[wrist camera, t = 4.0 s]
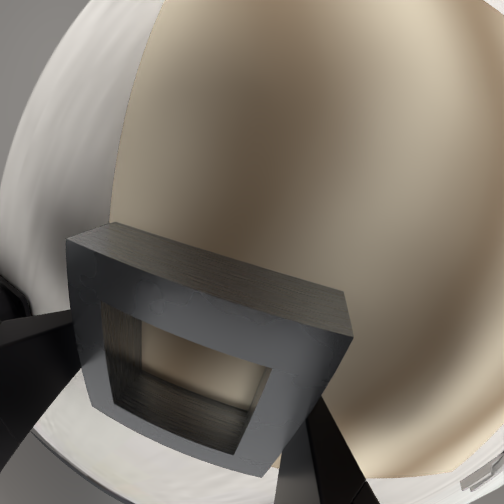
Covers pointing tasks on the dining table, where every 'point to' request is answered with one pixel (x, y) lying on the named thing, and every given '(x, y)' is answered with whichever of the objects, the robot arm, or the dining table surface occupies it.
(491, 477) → the pliers
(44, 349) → the robot arm
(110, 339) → the grey square frame
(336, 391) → the keeper board
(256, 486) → the dining table surface
